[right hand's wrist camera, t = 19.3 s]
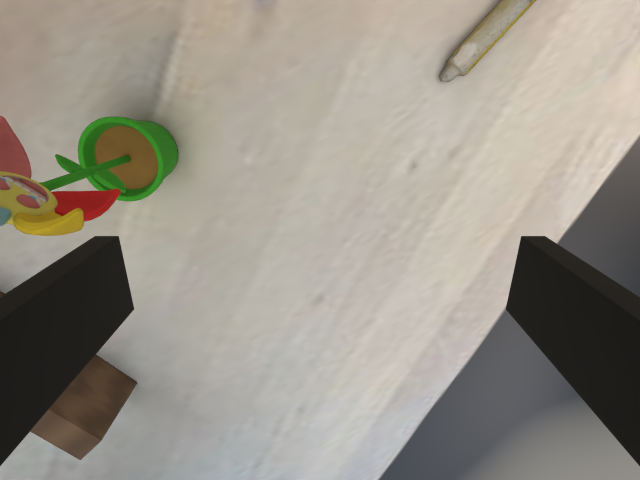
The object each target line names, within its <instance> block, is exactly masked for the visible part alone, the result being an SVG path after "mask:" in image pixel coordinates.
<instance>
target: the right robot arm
mask: <svg viewBox="0 0 640 480" xmlns="http://www.w3.org/2000/svg"><path fill="white" fill-rule="evenodd" d="M133 310H134V306H133V302H132V297H131V292H130V288H129V283H128V278H127V273H126V269H125V264H124V259H123V255H122V250H121V245H120V241H119V236H95V237H93V238H92V239H90V240H88V241H87V242H85V243H84V244H82V245H81V246H79V247H78V248H76V249H75V250H73V251H71V252H70V253H68V254H67V255H65V256H64V257H62V258H61V259H59V260H57V261H56V262H54V263H53V264H51V265H50V266H48V267H47V268H45V269H44V270H42V271H40V272H39V273H37V274H36V275H34V276H33V277H31V278H30V279H28V280H26V281H25V282H23V283H22V284H20V285H19V286H17V287H16V288H14V289H12V290H11V291H9V292H8V293H6V294H5V295H3V296H2V297H0V466H1V465H2V463H3V462H4V461H5V460H6V459H7V457H8V456H9V455H10V454H11V453H12V452H13V450H14V449H15V448H16V447H17V446H18V445H19V443H20V442H21V441H22V440H23V439H24V438H25V436H26V435H27V434H28V433H29V432H30V431H31V429H32V428H33V427H34V426H35V425H36V424H37V422H38V421H39V420H40V419H41V418H42V416H43V415H44V414H45V413H46V412H47V411H48V409H49V408H50V407H51V406H52V405H53V404H54V402H55V401H56V400H57V399H58V398H59V397H60V395H61V394H62V393H63V392H64V391H65V390H66V388H67V387H68V386H69V385H70V384H71V382H72V381H73V380H74V379H75V378H76V377H77V375H78V374H79V373H80V372H81V371H82V370H83V368H84V367H85V366H86V365H87V364H88V363H89V361H90V360H91V359H92V358H93V357H94V356H95V354H96V353H97V352H98V351H99V350H100V348H101V347H102V346H103V345H104V344H105V343H106V341H107V340H108V339H109V338H110V337H111V336H112V334H113V333H114V332H115V331H116V330H117V329H118V327H119V326H120V325H121V324H122V323H123V322H124V320H125V319H126V318H127V317H128V316H129V315H130V313H131V312H132V311H133ZM506 310H507V311H508V312H509V313H510V315H511V316H512V317H513V318H514V319H515V320H516V322H517V323H518V324H519V325H520V326H521V327H522V329H523V330H524V331H525V332H526V333H527V334H528V336H529V337H530V338H531V339H532V340H533V341H534V343H535V344H536V345H537V346H538V347H539V348H540V350H541V351H542V352H543V353H544V354H545V356H546V357H547V358H548V359H549V360H550V361H551V363H552V364H553V365H554V366H555V367H556V368H557V369H558V371H559V372H560V373H561V374H562V375H563V377H564V378H565V379H566V380H567V381H568V382H569V384H570V385H571V386H572V387H573V388H574V389H575V391H576V392H577V393H578V394H579V395H580V397H581V398H582V399H583V400H584V401H585V402H586V404H587V405H588V406H589V407H590V408H591V409H592V411H593V412H594V413H595V414H596V415H597V416H598V418H599V419H600V420H601V421H602V422H603V424H604V425H605V426H606V427H607V428H608V429H609V431H610V432H611V433H612V434H613V435H614V436H615V437H616V439H617V440H618V441H619V442H620V443H621V445H622V446H623V447H624V448H625V449H626V450H627V452H628V453H629V454H630V455H631V456H632V457H633V459H634V460H635V461H636V462H637V463H638V465H639V466H640V297H638V296H637V295H635V294H634V293H632V292H631V291H629V290H627V289H626V288H624V287H623V286H621V285H620V284H618V283H617V282H615V281H614V280H612V279H610V278H609V277H607V276H606V275H604V274H603V273H601V272H600V271H598V270H596V269H595V268H593V267H592V266H590V265H589V264H587V263H586V262H584V261H583V260H581V259H579V258H578V257H576V256H575V255H573V254H572V253H570V252H569V251H567V250H565V249H564V248H562V247H561V246H559V245H558V244H556V243H555V242H553V241H552V240H550V239H548V238H547V237H545V236H521V241H520V245H519V250H518V255H517V259H516V264H515V269H514V273H513V278H512V283H511V288H510V292H509V297H508V302H507V306H506Z"/></svg>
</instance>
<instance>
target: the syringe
mask: <svg viewBox="0 0 640 480" xmlns="http://www.w3.org/2000/svg"><path fill="white" fill-rule="evenodd" d="M535 1H536V0H501V1H500V2H499V3H498V4H497V5H496V7H495V8H494V9H493V10H492V11H491V12H490V13H489V14H488V16H487V17H486V18H485V19H484V20H483V21H482V22H481V23H480V24H479V25H478V26H477V27H476V29H475V30H474V31H473V32H472V33H471V34H470V35H469V36H468V37H467V38H466V40H465V41H463V42H462V44H461V45H460V46H459V47H458V48H457V49H456V50H455V51H454V53H453V54H452V56H451V57H450V59H448V60H447V63H446V66H445V68H444V70H443V71H442V72H441V74H440V75H439V78H440V81H442V82H449V81H451V80H453V79H454V78H455V77H456V76H464V75H466V74H467V73H468V72H469V71H470V70H471V69H472V68H473V67H474V66H475V65H476V64H477V62H478V61H479V60H480V59H481V58H482V57H483V56H484V55H485V54H486V53H487V52H488V51H489V50H490V49H491V48H492V47H493V45H494V44H495V43H496V42H497V41H498V40H499V39H500V38H501V37H502V36H503V35H504V34H505V32H506V31H507V30H508V29H509V28H510V27H511V26H512V25H513V24H514V23H515V22H516V21H517V20H518V19H519V18H520V17H521V16H522V15H523V14H524V13H525V11H526V10H527V9H528V8H529V7H530V6H531V5H532V4H533V3H534V2H535Z"/></svg>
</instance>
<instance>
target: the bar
mask: <svg viewBox="0 0 640 480" xmlns="http://www.w3.org/2000/svg"><path fill="white" fill-rule="evenodd" d="M3 295H4V294H3V293H1V292H0V297H2V296H3ZM136 384H137V382H135V381H134V380H132V379H131V378H129V377H128V376H126V375H125V374H123V373H122V372H120V371H119V370H117V369H116V368H114V367H113V366H111V365H110V364H108V363H107V362H105V361H104V360H102V359H101V358H99V357H98V356H96V355H95V356H94V357H93V358H92V359H91V360H90V361H89V363H88V364H87V365H86V366H85V367H84V368H83V370H82V371H81V372H80V373H79V374H78V375H77V377H76V378H75V379H74V380H73V381H72V382H71V384H70V385H69V386H68V387H67V388H66V390H65V391H64V392H63V393H62V394H61V395H60V397H59V398H58V399H57V400H56V401H55V402H54V404H53V405H52V406H51V407H50V408H49V409H48V411H47V412H46V413H45V414H44V415H43V416H42V418H41V419H40V420H39V421H38V422H37V424H36V425H35V426H34V427H33V428H32V429H31V431H30V432H32V433H34V434H36V435H37V436H39V437H41V438H43V439H44V440H46V441H48V442H50V443H51V444H53V445H55V446H57V447H58V448H60V449H62V450H64V451H65V452H67V453H69V454H71V455H72V456H74V457H76V458H78V459H79V460H81V459H82V458H83V457H84V456H85V455H86V454H88V453H89V452H90V451H91V450H92V449H93V448H94V447H95V446H96V445H97V444H98V443H99V442H100V441H101V440H102V439H103V437H104V435H105V434H106V432H107V431H108V429H109V427H110V426H111V424H112V423H113V421H114V419H115V418H116V416H117V415H118V413H119V411H120V410H121V408H122V407H123V405H124V403H125V402H126V400H127V399H128V397H129V395H130V394H131V392H132V391H133V389H134V387H135V386H136Z"/></svg>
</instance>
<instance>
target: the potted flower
mask: <svg viewBox="0 0 640 480" xmlns="http://www.w3.org/2000/svg"><path fill="white" fill-rule="evenodd" d="M55 157H56V159H57V162H58V164H59V165H60V166H61V167H62V168H63V169H64V170H66V171H68V172H69V173H70V174H67V175H64V176H61V177H58V178H55V179H52V180H49V181H46V182H43V183H38V182H36V181H34V180H32V179H31V167H30V163H29V160H28V157H27V154H26V152H25V150H24V148H23V146H22V144H21V143H20V141H19V139H18V138H17V136H16V135H15V133H14V132H13V131H12V129H11V127H10V126H9V124H8V122H7V121H6V119H5V118H4V117H2V116H0V226H2V225H4V224H5V223H8V224H12V225H14V226H15V227H16V229H18V230H20V231H21V232H23V233H25V234H32V235H42V236H54V235H63V234H69V233H73V232H76V231H79V230H81V229H82V228H83V226H84V221H89V220H92V219H94V218H96V217H99V216H101V215H102V214H103V213H104V212H106V211H107V210H108V209H109V208H110V207H111V205H112V204H113V203H114V202H115V200H116V199H117V200H121V201H136V200H141V199H143V198H145V197H147V196H149V195H150V194H152V193H153V192H154V191H155V190H156V189H157V188H158V187H159V186H160V184H161V183H162V181H163V179H164V178H165V177H167V176H168V175H169V174H170V173H171V172H172V170H173V169H174V168H175V166H176V163H177V159H178V151H177V146H176V143H175V141H174V139H173V138H172V136H171V135H170V134H169V132H168V131H167V130H165V129H164V128H163V127H161V126H160V125H158V124H156V123H153V122H148V121H137V120H132V119H130V118H124V117H105V118H101V119H98V120H96V121H94V122H92V123H91V124H90V125H89V126H88V127H87V128H86V129H85V130H84V132H83V133H82V135H81V137H80V140H79V145H78V158H79V162H80V165H78V164H77V163H75V162H73V161H71V160H69V159H67V158H65V157H62V156H60V155H58V154H56V155H55ZM86 177H87V179H88V180H89V182H90V183H91V184H92V185H93V186H94V187H95V188H96V189H98V190H99V191H56V192H50V191H51V190H54V189H56V188H59V187H62V186H65V185H67V184H70V183H73V182H75V181H78V180H81V179H84V178H86Z"/></svg>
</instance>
